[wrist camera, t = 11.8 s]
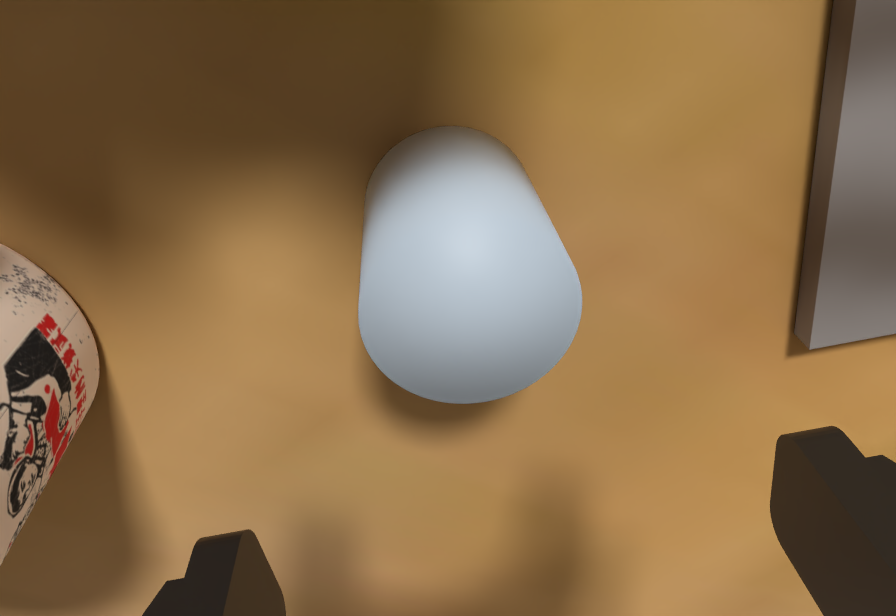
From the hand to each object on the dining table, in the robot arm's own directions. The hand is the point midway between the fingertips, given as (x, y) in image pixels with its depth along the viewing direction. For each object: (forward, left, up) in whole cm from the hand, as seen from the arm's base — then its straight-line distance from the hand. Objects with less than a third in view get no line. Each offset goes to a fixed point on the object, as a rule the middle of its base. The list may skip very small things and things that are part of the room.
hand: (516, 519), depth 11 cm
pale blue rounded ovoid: (0, 0, -12) cm, 12 cm away
